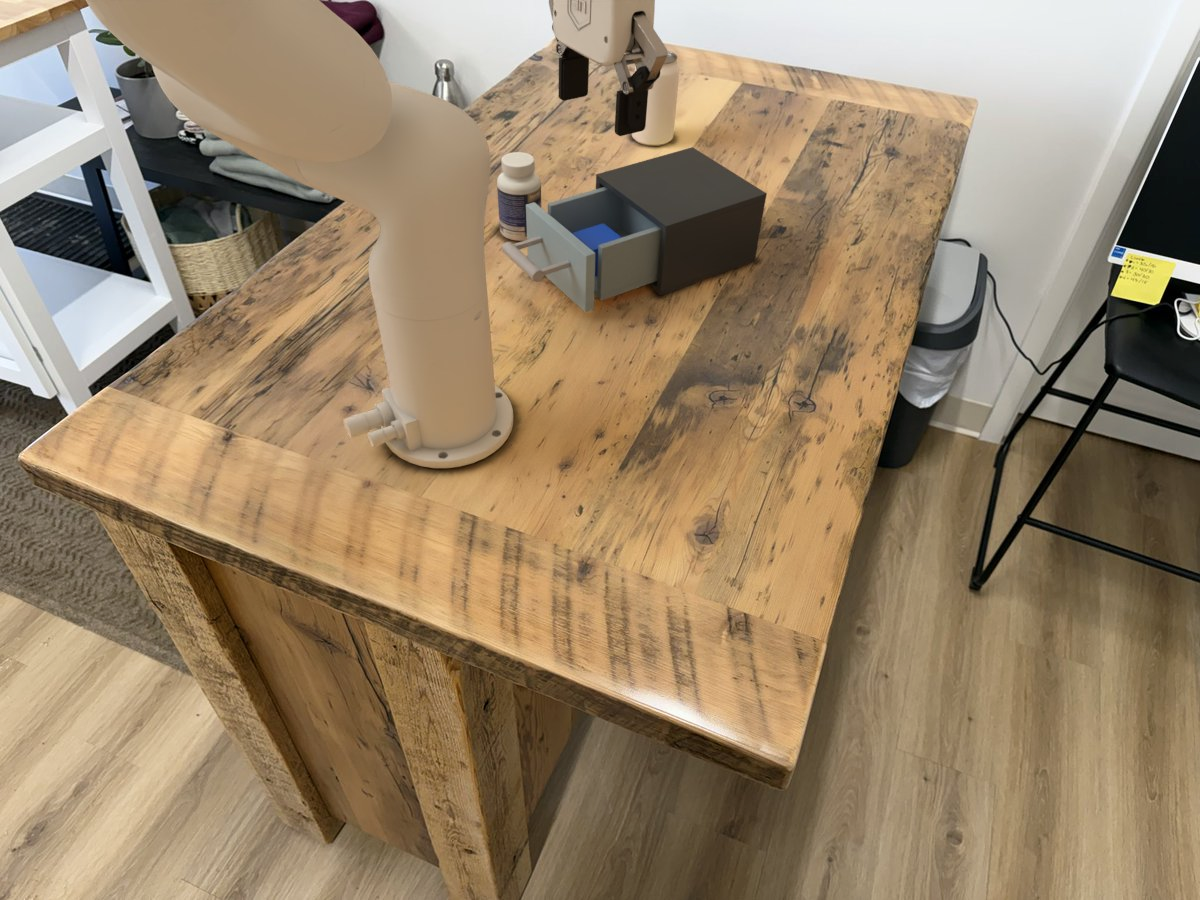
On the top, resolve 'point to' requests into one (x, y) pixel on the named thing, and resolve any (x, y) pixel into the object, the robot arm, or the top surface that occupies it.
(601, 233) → the matte blue toy brick
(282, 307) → the top surface
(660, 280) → the small storage cabinet
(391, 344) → the robot arm
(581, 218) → the drawer
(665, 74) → the can
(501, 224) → the pill bottle
